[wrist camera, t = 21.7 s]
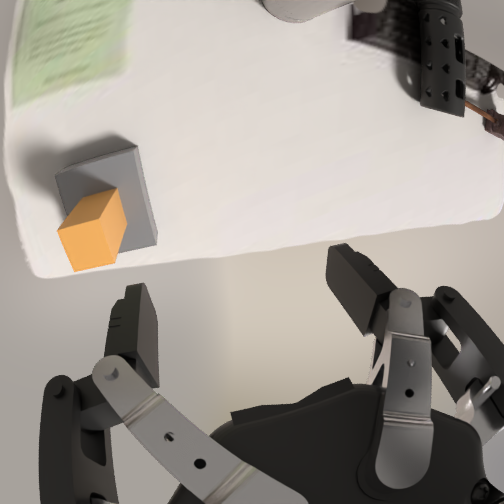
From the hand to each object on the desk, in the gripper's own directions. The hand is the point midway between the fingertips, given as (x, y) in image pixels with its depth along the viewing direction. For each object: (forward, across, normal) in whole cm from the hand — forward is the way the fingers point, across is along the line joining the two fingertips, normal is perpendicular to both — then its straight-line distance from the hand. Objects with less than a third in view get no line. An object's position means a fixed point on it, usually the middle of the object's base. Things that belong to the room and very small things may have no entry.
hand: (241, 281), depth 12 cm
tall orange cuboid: (+27, +14, +5) cm, 30 cm away
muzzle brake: (+31, -44, -21) cm, 57 cm away
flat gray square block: (+31, +14, +5) cm, 34 cm away
